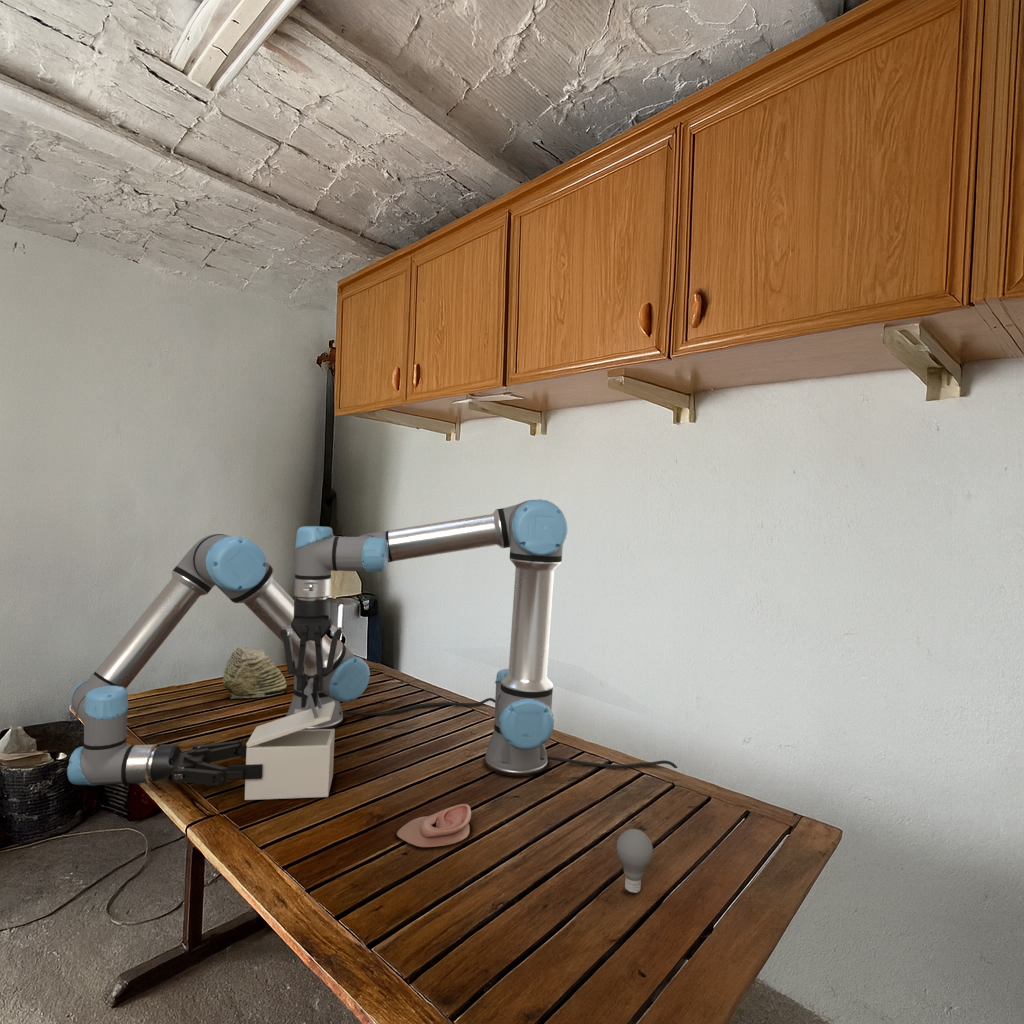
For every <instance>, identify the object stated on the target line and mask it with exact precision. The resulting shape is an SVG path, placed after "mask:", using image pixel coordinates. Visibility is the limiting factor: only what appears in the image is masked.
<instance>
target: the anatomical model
mask: <svg viewBox="0 0 1024 1024" xmlns="http://www.w3.org/2000/svg"><path fill="white" fill-rule="evenodd" d="M471 819H472V809H471V806H470V805H469V804H468V803H462V804H461V803H460V804H456V805H452V806H450V807H447V808H445V809H442V810H439V811H437V812H436V813H433V814H431V815H428V816H426V815H425V816H420V817H417V818H414V819H412V820H410V821H408V822H407V823H405V824H404V825H402V826H401V827H400V828H399V829H398V830H397V832H396V836H397V837H398V838H399V839H401V840H402V841H403V842H406V843H408V844H409V845H413V846H415V847H419V848H435V847H442V846H443V847H444V846H448V845H449V846H450V845H453V844H456V843H458V842H461V841H463V840H465V839H466V838H468V836H469V835H470V832H471V831H470V830H471V829H470V828H471V827H470V824H469V823H470V821H471Z"/></svg>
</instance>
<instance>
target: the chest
mask: <svg viewBox="0 0 1024 1024" xmlns="http://www.w3.org/2000/svg"><path fill="white" fill-rule="evenodd" d="M335 731H336V729H335V728H333V729H313V730H299V731H296V732H293V733H290V734H287V735H284V736H281V737H278V738H275V739H272V740H269V741H266V742H263V743H261V744H258V745H255V746H252V747H249V748H247V750H246V758H245V765H253V764H263V768H262V778H261V779H244V801H257V800H279V799H280V800H281V799H284V800H285V799H307V798H308V799H310V798H328V797H329V795H330V792H331V791H330V790H331V788H332V787H331V786H332V781H333V778H334V762H335V761H334V759H335V758H334V757H335V733H336V732H335Z"/></svg>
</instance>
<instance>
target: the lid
mask: <svg viewBox="0 0 1024 1024" xmlns="http://www.w3.org/2000/svg"><path fill="white" fill-rule="evenodd" d="M312 691H313V678H310V679H309V681H308V683H307V685H306V687H305V689H304V694H305V695H307V696H308V699H309V702H310V705H311V709H308V710H305V711H302V712H299V713H296V714H293V715H290V716H287V717H286V716H284V717H281V718H278V719H275V720H272V721H269V722H266V723H263V724H260V725H257V726H255V728H254V730H253V732H252V733H251V735H250V737H249V738H248V740H247V742H246V743H245V745H246V746H247V748H249V747H252V746H255V745H258V744H261V743H263V742H266V741H269V740H272V739H275V738H278V737H281V736H284V735H287V734H290V733H293V732H296V731H299V730H302V729H305V728H308V727H311V726H314V725H317V724H320V723H323V722H326V721H329V720H331V717H332V714H333V710H334V707H335V702H334V701H332V702H329V703H326V704H323V705H321V702H320V699H319V696H318V704H317V705H318V706H317V707H315V705H314V702H313V698H312V695H311V693H312Z"/></svg>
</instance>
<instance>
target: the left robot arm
mask: <svg viewBox="0 0 1024 1024" xmlns="http://www.w3.org/2000/svg"><path fill="white" fill-rule="evenodd" d="M266 557H267V556H266V555H265V553H264V551H263V550H262V548H261V547H260V546H259V545H258V544H257V543H256V542H254V541H252V540H250V539H248V538H246V537H242V536H233V535H229V534H224V533H213V534H208V535H206V536H204V537H203V538H201V539H199V540H198V541H197V542H196V543H195V544H193V545H192V547H190V549H189V550H188V551H187V552H186V553H185V555H184V556H183V557H182V558H181V560H180V561H179V562H178V564H177V565H176V566H175V567H174V568H173V569H172V571H171V579H170V580H169V581H168V583H166V585H165V586H164V588H162V590H161V591H160V593H158V594H157V596H156V597H155V598H154V599H153V601H152V602H151V603H150V604H149V606H148V607H147V608H146V609H145V611H144V612H143V613H142V614H141V616H140V617H138V618H137V620H136V621H135V622H134V624H133V625H132V626H131V628H130V629H129V630H128V631H127V632H126V634H125V635H124V636H123V637H122V638H121V639H120V641H119V642H118V643H117V645H116V646H115V647H114V648H113V649H112V650H111V652H110V653H109V654H108V655H107V657H106V658H104V660H103V662H102V663H101V664H99V667H98V668H96V670H95V671H94V673H92V675H90V677H89V678H88V679H86V680H82V681H81V682H79V683H78V684H77V685H76V686H75V687H74V688H73V689H72V691H71V693H70V704H71V708H72V710H73V712H74V713H75V714H76V715H77V716H78V718H79V719H80V721H81V723H82V724H83V745H82V746H79V747H77V748H75V749H74V751H73V752H72V753H71V755H70V757H69V760H68V766H67V767H66V774H67V779H68V781H69V783H71V784H72V785H74V786H91V787H97V786H107V785H108V786H110V785H134V784H135V785H137V786H141V785H143V784H151V782H152V783H154V784H171V783H173V784H180V783H182V784H183V783H185V784H195V785H204V786H205V785H206V786H215V787H216V786H217V787H219V786H226V785H227V784H228V781H232V780H234V781H235V780H245V779H261V778H262V768H263V764H253V765H246V764H229V765H228V767H226V766H222V765H218V764H214V763H216V762H220V761H225V760H229V759H233V758H237V757H240V759H246V750H247V746H246V744H243V739H242V740H241V739H239V740H232V741H224V742H216V743H215V742H214V743H207V744H193V745H192V749H190V750H187V751H182V750H181V747H180V746H179V744H176V743H173V744H172V743H171V744H170V743H169V744H166V743H165V744H160V745H157V744H130V745H129V744H127V735H128V734H127V733H128V712H129V707H130V703H129V695H128V690H127V689H128V687H129V686H130V684H131V683H132V682H133V681H134V680H135V678H136V677H137V676H138V675H139V673H140V672H141V671H142V669H143V668H144V667H145V666H146V665H147V664H148V662H149V661H150V659H152V657H153V656H154V654H155V653H156V652H157V651H158V650H159V648H160V647H161V646H162V645H163V643H164V642H165V641H166V640H167V639H168V637H169V636H170V634H171V633H172V632H173V631H174V630H175V629H176V627H177V626H178V625H179V624H180V622H181V621H182V620H183V618H184V617H185V616H186V615H187V614H188V612H189V611H190V610H191V608H192V607H193V606H194V604H195V603H196V602H197V601H198V600H199V598H200V597H202V596H206V595H208V594H209V593H210V591H212V589H213V588H214V587H217V588H218V589H219V590H220V591H221V592H222V593H223V594H224V596H226V597H227V598H228V599H229V600H230V601H231V602H232V603H234V604H243V605H245V606H246V607H247V608H248V609H249V610H250V611H251V612H252V613H253V614H254V615H255V616H256V618H258V619H259V620H260V621H261V622H262V623H263V624H264V625H265V626H266V627H267V628H268V629H269V631H271V632H272V633H273V634H274V635H275V636H276V638H278V639H279V640H280V641H281V642H282V643H283V644H284V641H283V639H282V637H281V635H280V633H279V632H280V630H281V629H282V628H284V627H285V628H286V627H288V626H290V625H291V622H292V621H293V618H294V600H295V599H293V598H292V597H291V595H289V593H287V591H286V590H285V589H284V588H283V587H282V586H281V585H280V584H279V583H278V582H277V581H276V580H275V578H274V572H275V571H274V568H273V567H272V565H270V563H269V562H268V561H267V558H266ZM291 639H292V647H293V654H294V661H295V667H296V668H297V666H298V658H299V649H300V638H299V637H298V636H297V634H296V633H295V631H294V630H292V635H291ZM331 641H332V638H330V637H329V636H328V635H327V633H326V634H325V636H324V637H323V638H322V646H323V663H324V668H325V667H327V662H328V656H329V651H330V646H331ZM304 674H307V683H308V681H309V679H310V678H313V677H314V675H315V674H317V666H316V650H315V641H312V640H310V641H308V642H307V650H306V658H305V667H304ZM370 676H371V671H370V667H369V665H368V663H367V662H366V661H365V660H364V659H363V658H361V657H359V656H356V655H354V654H353V652H352V651H351V650H350V649H349V648H348V647H347V646H346V645H345V644H344V643H343V642H342V641H341V640H339V639H338V642H337V647H336V653H335V658H334V663H333V668H332V671H331V673H330V674H325V675H324V682H323V689H322V691H318V696H319V699H320V702H321V705H323V704H326V703H329V702H332V701H334V702H335V707H334V710H333V714H332V717H331V720H329V721H326V722H323V723H320V724H317V725H314V726H311V727H308V728H305V729H302V730H313V729H335V728H337V727H339V726H340V725H342V723H343V722H344V715H345V716H347V715H350V716H364V717H375V716H385V715H392V714H397V713H403V712H407V711H410V710H414V709H419V708H426V707H435V706H436V707H438V706H462V707H465V706H466V707H475V706H481V705H483V704H486V703H488V702H493V703H494V704H495V698H493V697H488V698H485V699H483V700H480V701H477V702H451V701H450V702H449V701H448V702H429V703H421V704H420V703H419V704H414V705H410V706H408V707H403V708H399V709H393V710H386V711H379V712H361V711H349V710H348V711H345V710H343V709H342V706H341V703H350V702H353V701H355V700H357V699H358V698H359V697H361V695H362V694H363V693H364V692H365V691H366V689H367V688H368V685H369V683H370ZM296 688H297V677H296V676H295V675H293V695H292V696H293V697H292V699H291V702H290V704H289V708H288V711H287V713H286V715H285V717H287V716H290V715H293V714H296V713H299V712H302V711H305V710H308V709H311V705H310V702H309V699H308V696H307V704H306V706H305V708H301V695H302V691H297V689H296ZM311 695H312V698H313V691H312V693H311ZM317 706H318V705H317Z"/></svg>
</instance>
